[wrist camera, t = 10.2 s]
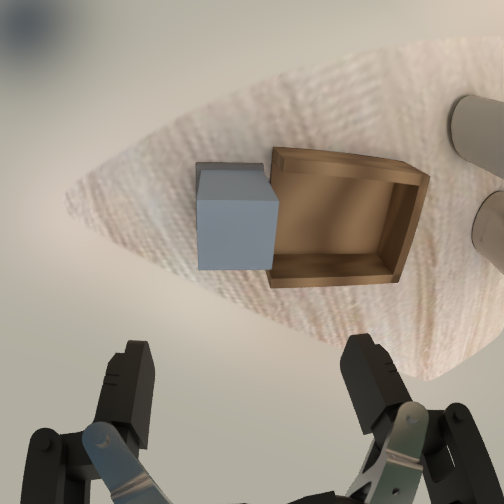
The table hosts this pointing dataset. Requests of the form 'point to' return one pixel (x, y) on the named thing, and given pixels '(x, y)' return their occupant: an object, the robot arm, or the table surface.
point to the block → (236, 220)
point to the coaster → (223, 166)
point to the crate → (342, 217)
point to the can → (480, 132)
